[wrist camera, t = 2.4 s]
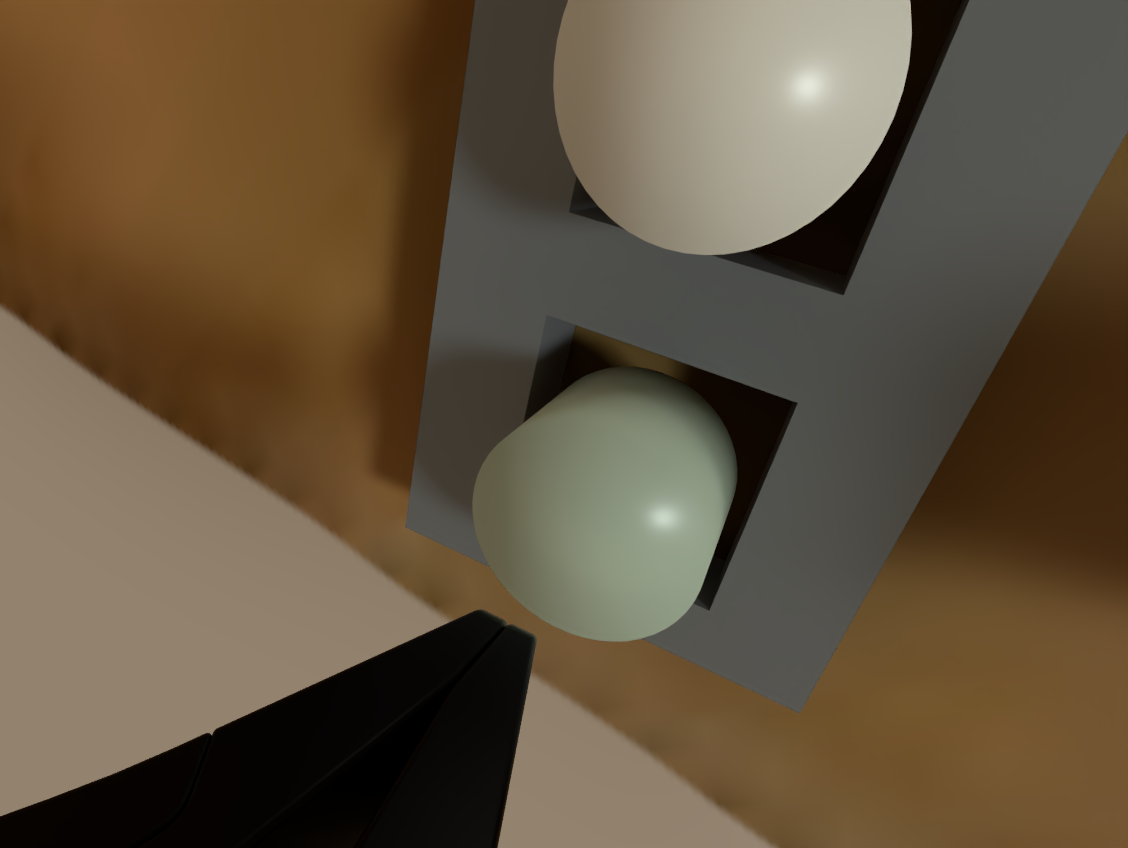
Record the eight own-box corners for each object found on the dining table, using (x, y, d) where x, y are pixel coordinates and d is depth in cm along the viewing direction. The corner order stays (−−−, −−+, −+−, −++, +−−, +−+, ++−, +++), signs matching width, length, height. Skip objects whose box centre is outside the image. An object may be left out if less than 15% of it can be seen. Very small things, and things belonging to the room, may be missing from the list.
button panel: (1764, -1134, 6) (2148, -1681, 4) (805, 652, 16) (799, 712, 14) (682, -937, 8) (635, -1222, 7) (447, 491, 18) (405, 527, 17)
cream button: (951, -39, 9) (989, -116, 6) (829, 262, 11) (819, 296, 8) (662, -87, 10) (595, -170, 7) (597, 194, 12) (526, 206, 9)
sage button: (768, 410, 12) (745, 480, 10) (699, 583, 14) (663, 679, 11) (564, 337, 13) (493, 382, 11) (525, 506, 15) (456, 579, 13)
